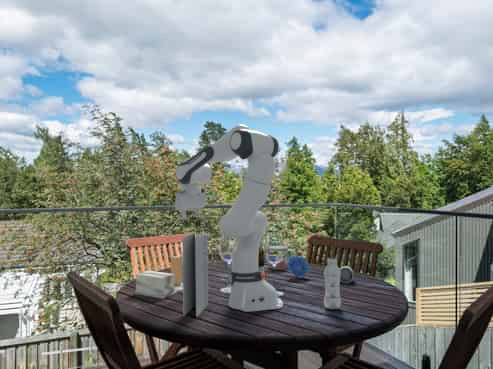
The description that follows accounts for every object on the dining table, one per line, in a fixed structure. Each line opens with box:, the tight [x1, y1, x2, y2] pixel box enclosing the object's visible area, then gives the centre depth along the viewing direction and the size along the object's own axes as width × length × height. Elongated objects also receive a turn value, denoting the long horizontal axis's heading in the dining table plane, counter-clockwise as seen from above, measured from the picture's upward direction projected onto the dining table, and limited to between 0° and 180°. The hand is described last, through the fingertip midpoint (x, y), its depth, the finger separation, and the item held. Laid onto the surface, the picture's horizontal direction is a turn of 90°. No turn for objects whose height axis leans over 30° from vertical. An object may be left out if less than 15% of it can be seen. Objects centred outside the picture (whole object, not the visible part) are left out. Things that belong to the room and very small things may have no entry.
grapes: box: [287, 254, 310, 279], centre depth 211 cm, size 12×7×12 cm, turn 85°
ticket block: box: [134, 270, 183, 300], centre depth 191 cm, size 22×17×9 cm
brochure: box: [181, 232, 209, 318], centre depth 160 cm, size 14×6×30 cm, turn 168°
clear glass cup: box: [267, 245, 289, 270], centre depth 239 cm, size 11×11×12 cm
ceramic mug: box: [339, 265, 354, 284], centre depth 205 cm, size 11×8×8 cm
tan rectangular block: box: [170, 255, 183, 285], centre depth 198 cm, size 4×4×13 cm
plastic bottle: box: [323, 257, 342, 310], centre depth 161 cm, size 6×7×20 cm
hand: (190, 218), depth 200 cm, fingers open, 8 cm apart
